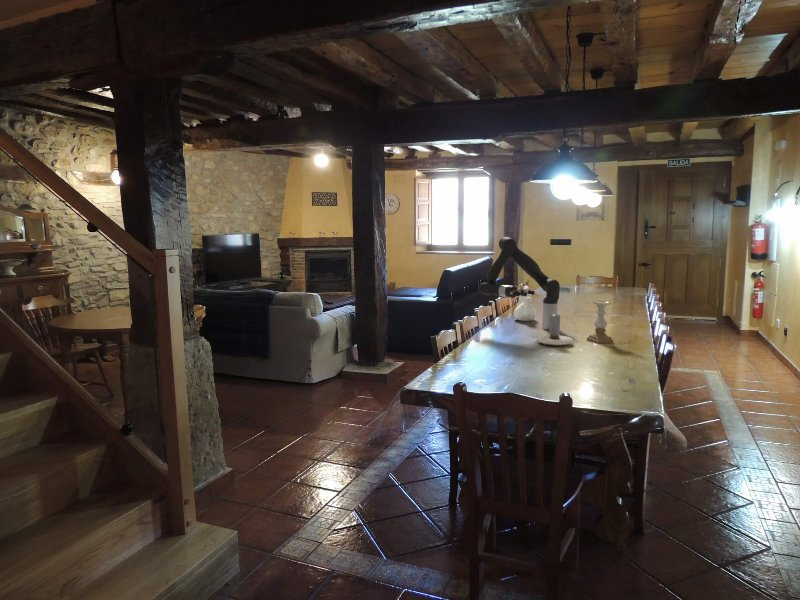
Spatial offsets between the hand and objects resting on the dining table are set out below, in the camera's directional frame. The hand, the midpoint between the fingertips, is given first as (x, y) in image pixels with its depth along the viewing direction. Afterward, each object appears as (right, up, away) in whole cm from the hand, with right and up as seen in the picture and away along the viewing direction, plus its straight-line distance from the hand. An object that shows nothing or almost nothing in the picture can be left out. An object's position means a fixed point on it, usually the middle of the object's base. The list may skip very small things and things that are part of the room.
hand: (530, 293), depth 339 cm
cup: (+12, -27, -9) cm, 31 cm away
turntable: (+12, -28, -9) cm, 32 cm away
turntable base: (+12, -30, -9) cm, 33 cm away
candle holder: (+40, -29, -4) cm, 50 cm away
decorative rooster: (+10, -19, +62) cm, 66 cm away
